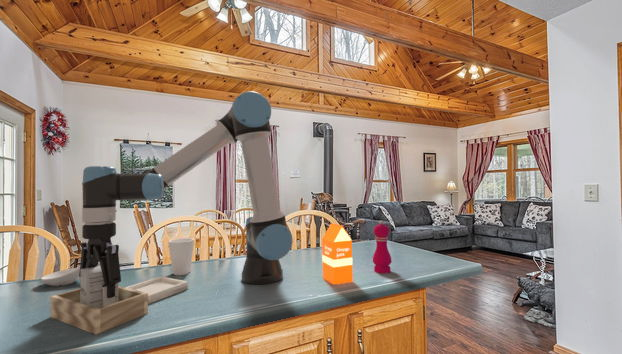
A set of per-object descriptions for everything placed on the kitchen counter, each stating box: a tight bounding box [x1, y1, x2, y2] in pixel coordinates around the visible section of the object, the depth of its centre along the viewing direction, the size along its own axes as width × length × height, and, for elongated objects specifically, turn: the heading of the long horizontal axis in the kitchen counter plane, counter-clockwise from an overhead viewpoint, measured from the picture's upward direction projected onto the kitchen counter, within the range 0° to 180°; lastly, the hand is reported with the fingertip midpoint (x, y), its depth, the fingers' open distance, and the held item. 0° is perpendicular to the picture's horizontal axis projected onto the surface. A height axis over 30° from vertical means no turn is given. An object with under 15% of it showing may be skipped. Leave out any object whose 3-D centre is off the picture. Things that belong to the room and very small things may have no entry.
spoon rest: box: [40, 262, 100, 287], centre depth 111 cm, size 24×12×7 cm, turn 107°
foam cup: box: [168, 237, 195, 276], centre depth 120 cm, size 10×9×13 cm
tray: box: [125, 275, 189, 305], centre depth 98 cm, size 14×14×2 cm
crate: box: [49, 285, 149, 335], centre depth 82 cm, size 22×13×6 cm, turn 62°
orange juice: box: [321, 222, 354, 286], centre depth 109 cm, size 8×9×20 cm
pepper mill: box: [372, 220, 393, 274], centre depth 118 cm, size 7×7×20 cm
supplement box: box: [79, 265, 119, 309], centre depth 82 cm, size 7×7×13 cm
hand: (99, 306), depth 82 cm, fingers closed on supplement box, 8 cm apart
